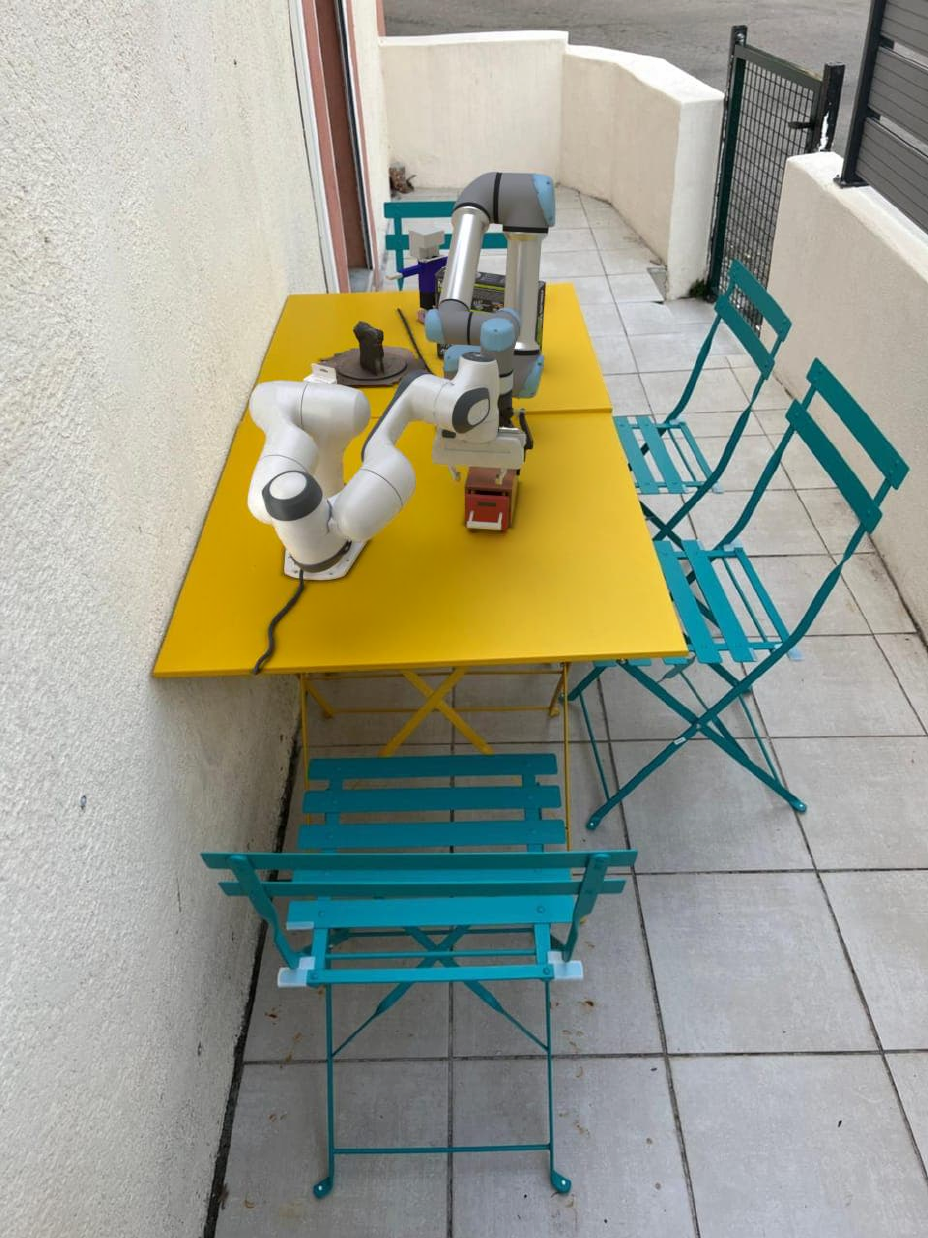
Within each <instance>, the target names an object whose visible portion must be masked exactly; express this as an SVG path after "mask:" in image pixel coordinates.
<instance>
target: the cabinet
mask: <svg viewBox="0 0 928 1238" xmlns="http://www.w3.org/2000/svg"><path fill="white" fill-rule="evenodd" d="M500 473H501V468H485V467H469V466H468V471H467V475H466V480H465V482H464V525H466V494H471V490H480V491H496V492H508V497H509V504H508V528H512V522H513V517H514V511H515V504H516V498H517V492H518V485H519V476H518V475H517V469H507V473H506V474H505V476H504V477H503V478H502V485H500V484H495V477H496V474H500Z"/></svg>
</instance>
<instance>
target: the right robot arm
mask: <svg viewBox="0 0 928 1238" xmlns="http://www.w3.org/2000/svg"><path fill="white" fill-rule="evenodd" d="M556 213H557V211H556V193H555V183H554V180H553V179H552V177H551V176H549V175H547V174H540V173H535V172H533V173H528V172H527V173H526V172H525V173H524V172H498V171H489V172H485V173H483V174H481V175H479V176H477V177H475V178H473V180H471V182H469V183H468V184H467V185H466V187H464V189H463V190H462V191H461V192H460V194H459V196H458V197H457V199H456V201H455V203H454V206H453V209H452V212H451V218H450V221H451V225H452V227H453V228H452V234H451V239H450V245H449V249H448V255H447V256H448V259H447V264H446V266H445V267H446V269H445V274H444V279H443V284H442V289H441V295H440V300H439V305H438V310H437V309H434V310H429V311H428V312H427V314H426V318H425V324H424V334H425V338H426V340H427V341H428V342H429V343H433V344H437V343H439V344H444V345H445V344H455V345H454V346H452V347H450V348H449V349H448V350H447V351H446V352H445V354H444V358H443V365H442V370H443V378H445V379H449V380H453V379H454V378H455V376H456V375H457V373H458V366H459V360H460V356H461V355H462V354H464V353H466V352H481V353H485V354H488V355H491V356H492V357H494V358H495V359H496V361H497V365H498V371H499V398H498V401H497V406H498V410H499V427H507V428H516V427H515V425H514V423H513V421H512V418H513V417H515V418H516V420H517V421H518V424H519V426H520V430H521V431H523V432H524V433H525V434H526V444H525V446H524V447H523V448H524V463H525V462H526V457H527V451H528V450H530V451H532V450H533V449H534V439H533V436H532V432H531V430H530V427H529V425H528V422H527V419H526V408H520V409H514V407H513V399H517V400H519V399H525V400H526V399H529V400H531V399H533V398H535V397H536V395H538V392H539V387H540V384H541V380H542V376H543V375H542V374H543V370H544V365H545V359H546V357H545V355H544V354H543V353H542V354H539V350H540V347H539V345H538V344H537V343H536V342H535V327H536V313H537V299H538V285H539V280H540V271H541V270H540V269H541V257H542V243H543V241H544V240H545V239H546V238H547V237H548V236H549V230H550V229H551V228H553V227H555V226H556ZM492 224H493V225H501V226H502V228H501V233H502V234H503V235H504V237H505V238H506V240H507V243H506V244H507V247H506V262H505V263H506V265H505V275H506V279H505V296H504V308H502V309H499V310H497V311H496V312H495V313H478V312H470V306H471V301H472V296H473V290H474V285H475V279H476V274H477V271H478V267H479V263H480V257H481V251H482V247H483V240H484V235H485V234H487V232H488V231H489V229H490V225H492ZM397 311H398V313H399V315H400V317H401V319H402V322H403V323H404V326H405V327H406V330H407V332H408V335H409V337H410V340H411V342H412V344H413V347H414V349H415V351H416V353H417V355H418V358H419V359H422V360H423V362H424V364H425V369H426V371H427V372H429V373H432V374H434V373H433V372H432V370H431V369H430V367H429V366H428V364H427V362H426V361H424V360H425V359H424V357H423V355H422V354H421V351H420V350H419V348H418V346H417V343H416V342H415V339H414V337H413V334H412V332H411V329H410V327H409V325H408V322H407V320H406V318H405V316H404V314H403V312H402V311H401V309H400V308H397ZM521 469H522V467H521V468H520V469H517V475H518V477H519V476H521Z"/></svg>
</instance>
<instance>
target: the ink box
mask: <svg viewBox="0 0 928 1238" xmlns="http://www.w3.org/2000/svg"><path fill="white" fill-rule="evenodd" d="M319 369H324V370H327V371H328V373H327V372H323V371H320V370H319ZM311 371H312V373H311V374H309V375H307V376H306V377H305V378H303V379H302V382H308V383H310V382H313V383H326V384H337V379H336V372H335V369H334V368H330V367H326V366H322V365H317V363H311Z"/></svg>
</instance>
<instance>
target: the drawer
mask: <svg viewBox="0 0 928 1238" xmlns="http://www.w3.org/2000/svg"><path fill="white" fill-rule="evenodd" d="M508 504H509V497H508V492H496V491H480V490H471V494H466V524H465V528H466V529H481V530H493V531H508V528H509V527H508Z"/></svg>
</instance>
